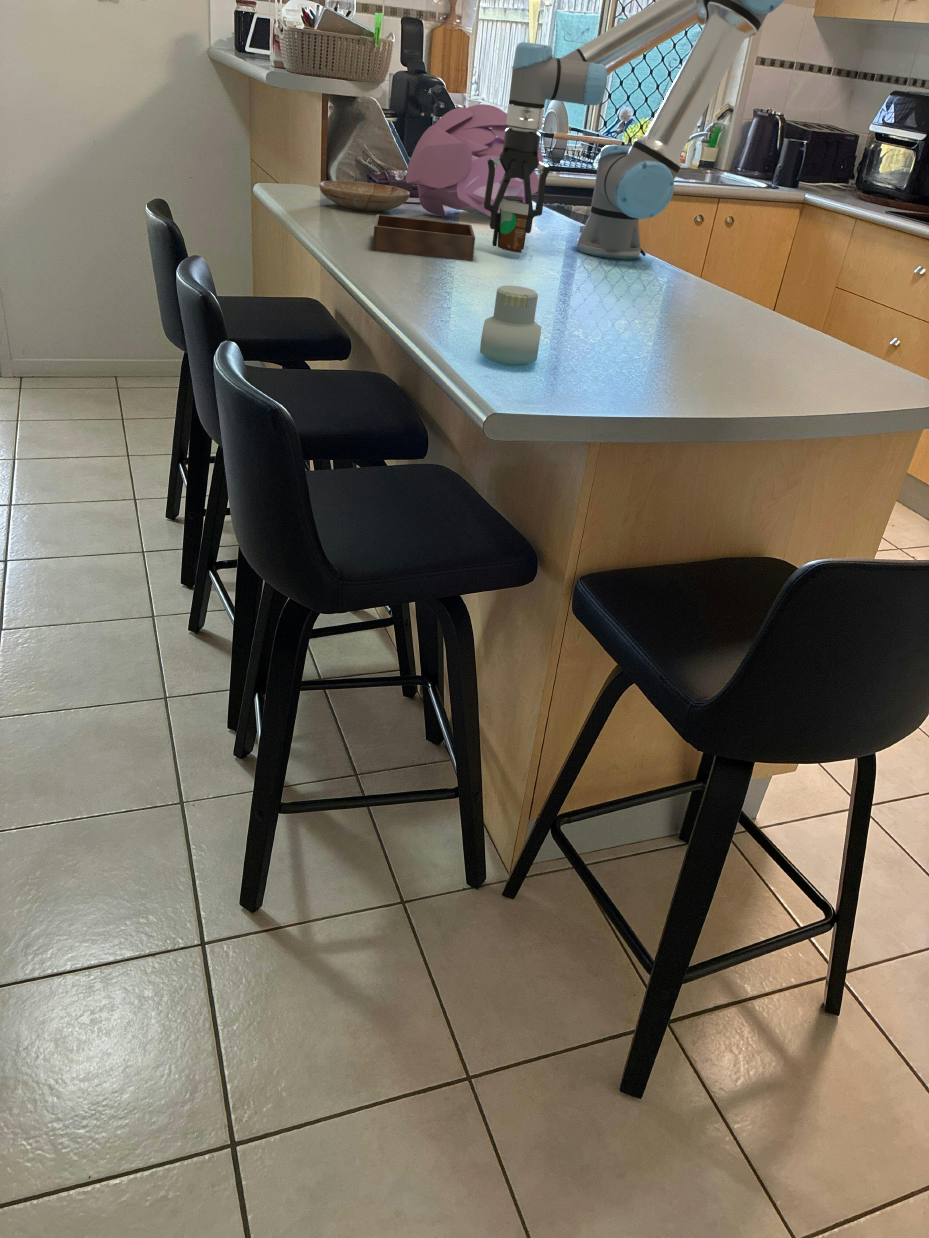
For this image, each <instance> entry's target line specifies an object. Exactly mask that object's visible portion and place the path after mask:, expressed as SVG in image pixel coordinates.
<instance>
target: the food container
mask: <svg viewBox="0 0 929 1238" xmlns="http://www.w3.org/2000/svg"><path fill="white" fill-rule="evenodd" d="M523 200H524V197H521V196H504V197H503V198H502V202H500V205H499V209H500V223H499V231H498V239H497V248H498V249H501V250H504V251H507V252H512V253H517V254H522V252H523V249H522V246H523V240H524V233H525V227H526V221H527V215H528V209H529V204H525V203H523Z"/></svg>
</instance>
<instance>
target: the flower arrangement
mask: <svg viewBox="0 0 929 1238" xmlns="http://www.w3.org/2000/svg"><path fill="white" fill-rule="evenodd" d="M506 119H507V112H505V111H504V110H503V109H501V108H499V107H498V106H494V105H491V104H485V103H482V104H481V103H480V104H479V103H478V104H474V105H471V106H468V107H466V106H465V107H464V106H461V107H457V108H453V109H451V110H449V111H448V112H446V113H444V114H443V115H442V116H441V117H439V118H438V120H436V122H435V123H434V124H433V125H430V126H429V127H428V128H427V129H426V130H425V131H424V132H423V133H422V135H421V137H420V138H419V140H418V142H417V143H416V146H415V147H414V150H413V152H412V155H411V158H410V159H409V162H408V165H407V168H406V173H405V182H406V184H411V185H417V189H418V199H419V200H418V201H419V203H420V205H421V207H422V208H423V209H424V210H425V211H426V212H427V213H429V214H432V215H435V216H439V217H445V216H446V212H445V208H444V207H448V208H451V209H454V210H457V211H463V212H466V213H470V214H478V215H483V216H487V217H490V218H491V212H490V211H488V210H486V209H485V208H484V199H485V192H486V186H487V179H488V172H489V169H488V163H487V160H488V159H489V158H491V159H493V158H498V157H500V155H501V153H502V151H503V144H504V136H505V130H506V129H508V126H507V125H506ZM543 157H544V156H543V152H542V149H541V147H540V145H539V150H538V159H539V162H540V163H542V164H544V163H545V162H544V158H543ZM544 165H545V164H544ZM536 169H538V167H537V168H536ZM536 169H535V170H534V171H533V172H532V174H531V175H530V187H531V195H535V194H536V193H538V184H539V177H538V175H537V172H536ZM504 174H505V171H504V169H503V167H502V164H501V163H499V164H498V168H497V169H495V176H494V183H493V190H492V196H491V203H490V204H491V205H493V203H494V201H495V198H496V195H497V193H498V190H499V188H500V185H501V183H502V180H503V177H504ZM504 196H521V197H524V200H523V203H525V204H526V201H525V192H524V183H523V179H519V178H511V180H510V182H509V184H508V186H507V189H506V191H505V194H504ZM497 213H500V209H498V212H497Z"/></svg>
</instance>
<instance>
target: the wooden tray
mask: <svg viewBox="0 0 929 1238" xmlns="http://www.w3.org/2000/svg"><path fill="white" fill-rule="evenodd" d="M372 241H373V242H372V251H374V252H384V253H393V254H401V255H403V254H404V255H413V256H421V257H422V256H423V257H432V258H439V259H450V260H458V261H459V260H460V261H468V262H473V261H474V253H475V243H476V236H475V233H474V229H473V226H472V224H468V223H467V224H466V223H460V222H459V223H458V222H449V221H439V220H431V219H423V218H413V217H405V216H395V215H386V214H379V213H378V214H376V216H375V222H374V226H373V240H372Z"/></svg>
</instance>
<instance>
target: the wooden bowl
mask: <svg viewBox="0 0 929 1238" xmlns="http://www.w3.org/2000/svg"><path fill="white" fill-rule="evenodd" d="M318 187H319V190H320V192H321V194H322V195H323V196H324V197H325V198H326V199H328V200H329V201H331V202H332V203H333V204H336V205H338V206H341V207H343V208H347V209H352V210H359V211H367V212H383V211H384V212H385V211H389V210H393V209H396V208H398V207H401V206H402V205H403V204H405V203H406V202H407V201H408V200H409V199H410V191H409V190H407V189H404V188H401V187H397V186H394V185H388V184H381V183H373V182H365V181H357V180H356V181H355V180H337V179H335V180H325V181H321V182H319V186H318Z"/></svg>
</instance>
